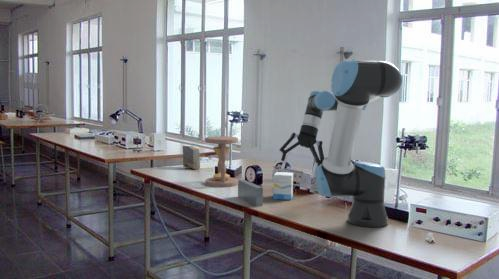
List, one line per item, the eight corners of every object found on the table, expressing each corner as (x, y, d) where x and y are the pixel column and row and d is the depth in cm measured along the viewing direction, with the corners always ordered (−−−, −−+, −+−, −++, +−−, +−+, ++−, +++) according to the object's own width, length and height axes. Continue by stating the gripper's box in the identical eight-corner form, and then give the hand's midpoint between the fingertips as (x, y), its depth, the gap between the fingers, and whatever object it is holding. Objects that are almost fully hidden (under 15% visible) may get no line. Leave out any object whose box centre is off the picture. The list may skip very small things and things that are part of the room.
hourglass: (236, 187, 243) (237, 139, 240) (203, 187, 243) (203, 139, 241) (238, 181, 260) (238, 136, 258) (207, 180, 261) (207, 136, 258)
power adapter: (433, 241, 160) (433, 232, 160) (435, 243, 158) (436, 234, 158) (424, 241, 161) (424, 232, 160) (426, 243, 158) (427, 234, 158)
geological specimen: (200, 169, 297) (200, 146, 295) (192, 170, 293) (192, 146, 291) (189, 167, 305) (189, 144, 303) (182, 168, 300) (182, 145, 299)
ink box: (291, 200, 216) (291, 175, 215) (272, 199, 218) (273, 174, 217) (293, 196, 225) (293, 172, 224) (275, 195, 226) (276, 171, 225)
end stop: (266, 205, 206) (266, 187, 206) (256, 206, 204) (256, 188, 203) (247, 195, 224) (247, 179, 224) (237, 196, 222) (238, 180, 221)
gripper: (334, 135, 208) (322, 181, 205) (281, 119, 205) (268, 165, 203) (339, 133, 201) (327, 181, 198) (285, 116, 198) (271, 164, 195)
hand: (297, 173), depth 200 cm, fingers open, 13 cm apart
